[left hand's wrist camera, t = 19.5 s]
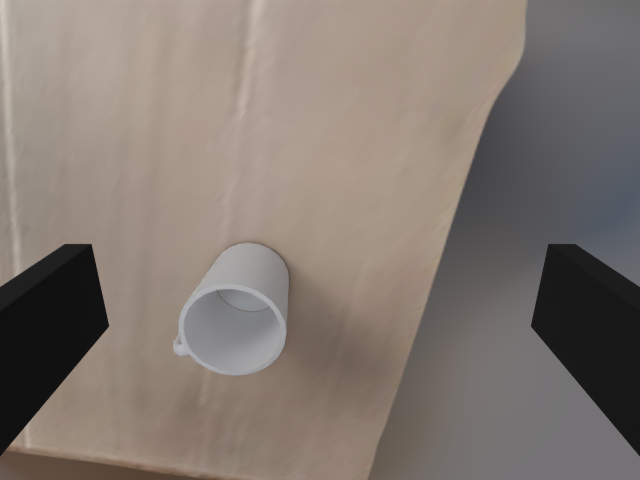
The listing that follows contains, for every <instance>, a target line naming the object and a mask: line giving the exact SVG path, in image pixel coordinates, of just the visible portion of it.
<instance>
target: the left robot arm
mask: <svg viewBox="0 0 640 480" xmlns="http://www.w3.org/2000/svg"><path fill="white" fill-rule="evenodd" d="M108 327H109V323H108V319H107V314H106V309H105V305H104V300H103V295H102V291H101V286H100V281H99V277H98V272H97V267H96V263H95V258H94V253H93V249H92V244H64V245H63V246H61V247H60V248H58V249H57V250H55V251H54V252H52V253H51V254H49V255H48V256H46V257H45V258H43V259H42V260H40V261H39V262H37V263H36V264H34V265H33V266H31V267H30V268H28V269H27V270H25V271H24V272H22V273H21V274H19V275H18V276H16V277H15V278H13V279H12V280H10V281H9V282H7V283H6V284H4V285H3V286H1V287H0V456H1V455H2V454H3V452H4V451H5V450H6V449H7V448H8V446H9V445H10V444H11V443H12V442H13V440H14V439H15V438H16V437H17V436H18V434H19V433H20V432H21V431H22V430H23V428H24V427H25V426H26V425H27V424H28V422H29V421H30V420H31V419H32V418H33V417H34V415H35V414H36V413H37V412H38V411H39V409H40V408H41V407H42V406H43V405H44V403H45V402H46V401H47V400H48V399H49V397H50V396H51V395H52V394H53V393H54V391H55V390H56V389H57V388H58V387H59V385H60V384H61V383H62V382H63V381H64V380H65V378H66V377H67V376H68V375H69V374H70V372H71V371H72V370H73V369H74V368H75V366H76V365H77V364H78V363H79V362H80V360H81V359H82V358H83V357H84V356H85V354H86V353H87V352H88V351H89V350H90V348H91V347H92V346H93V345H94V344H95V343H96V341H97V340H98V339H99V338H100V337H101V335H102V334H103V333H104V332H105V331H106V329H107V328H108ZM531 327H532V328H533V329H534V331H535V332H536V333H537V334H538V335H539V337H540V338H541V339H542V340H543V341H544V342H545V344H546V345H547V346H548V347H549V348H550V350H551V351H552V352H553V353H554V354H555V356H556V357H557V358H558V359H559V360H560V362H561V363H562V364H563V365H564V366H565V368H566V369H567V370H568V371H569V372H570V373H571V375H572V376H573V377H574V378H575V380H576V381H577V382H578V383H579V384H580V385H581V387H582V388H583V389H584V390H585V391H586V393H587V394H588V395H589V396H590V397H591V399H592V400H593V401H594V402H595V403H596V405H597V406H598V407H599V408H600V409H601V411H602V412H603V413H604V414H605V415H606V417H607V418H608V419H609V420H610V421H611V422H612V424H613V425H614V426H615V427H616V428H617V430H618V431H619V432H620V433H621V434H622V436H623V437H624V438H625V439H626V440H627V442H628V443H629V444H630V445H631V446H632V448H633V449H634V450H635V451H636V452H637V453H638V455H639V456H640V287H639V286H637V285H636V284H634V283H633V282H631V281H630V280H628V279H627V278H625V277H624V276H622V275H621V274H619V273H618V272H616V271H615V270H613V269H612V268H610V267H609V266H607V265H606V264H604V263H603V262H601V261H600V260H598V259H597V258H595V257H594V256H592V255H591V254H589V253H588V252H586V251H585V250H583V249H582V248H580V247H579V246H577V245H576V244H548V249H547V253H546V258H545V263H544V267H543V272H542V277H541V281H540V286H539V291H538V295H537V300H536V305H535V309H534V314H533V319H532V323H531Z"/></svg>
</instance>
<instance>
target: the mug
mask: <svg viewBox="0 0 640 480" xmlns="http://www.w3.org/2000/svg"><path fill="white" fill-rule="evenodd" d="M288 292H289V273H288V269H287V266H286V264H285V262H284V260H283V259H282V258H281V257H280V255H279V254H278V253H276V252H275V251H274V250H272V249H271V248H269V247H267V246H265V245H262V244H259V243H253V242H245V243H238V244H236V245H233V246H230V247H229V248H227V249H226V250H224V251H223V252H222V253H221V254H220V256H219V257H218V258H217V259H216V261H215V262H214V264H213V265H212V267H211V268H210V269H209V271H208V272H207V274H206V275H205V277H204V278H203V279H202V281H201V282H200V284H199V285H198V287H197V288H196V289H195V291H194V292H193V294H192V295H191V297H190V298H189V299H188V301H187V302H186V304H185V305H184V307H183V310H182V312H181V315H180V317H179V329H178V330H179V334H178V336H177V337H176V339H175V341H174V344H173V350H174V353H175V354H177V355H178V356H188V355H190V356H191V357H192V358H193V359H194V360H195V361H196V362H198V363H199V364H201V365H202V366H204V367H205V368H207V369H209V370H212V371H215V372H217V373H220V374H226V375H233V376H236V375H248V374H251V373H255V372H258V371H261V370H262V369H264V368H266V367H267V366H269V365H271V364H272V363H273V361H274V360H275V359H276V358H277V357H278V356H279V355H280V353H281V351H282V349H283V347H284V344H285V338H286V332H287V313H288Z"/></svg>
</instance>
